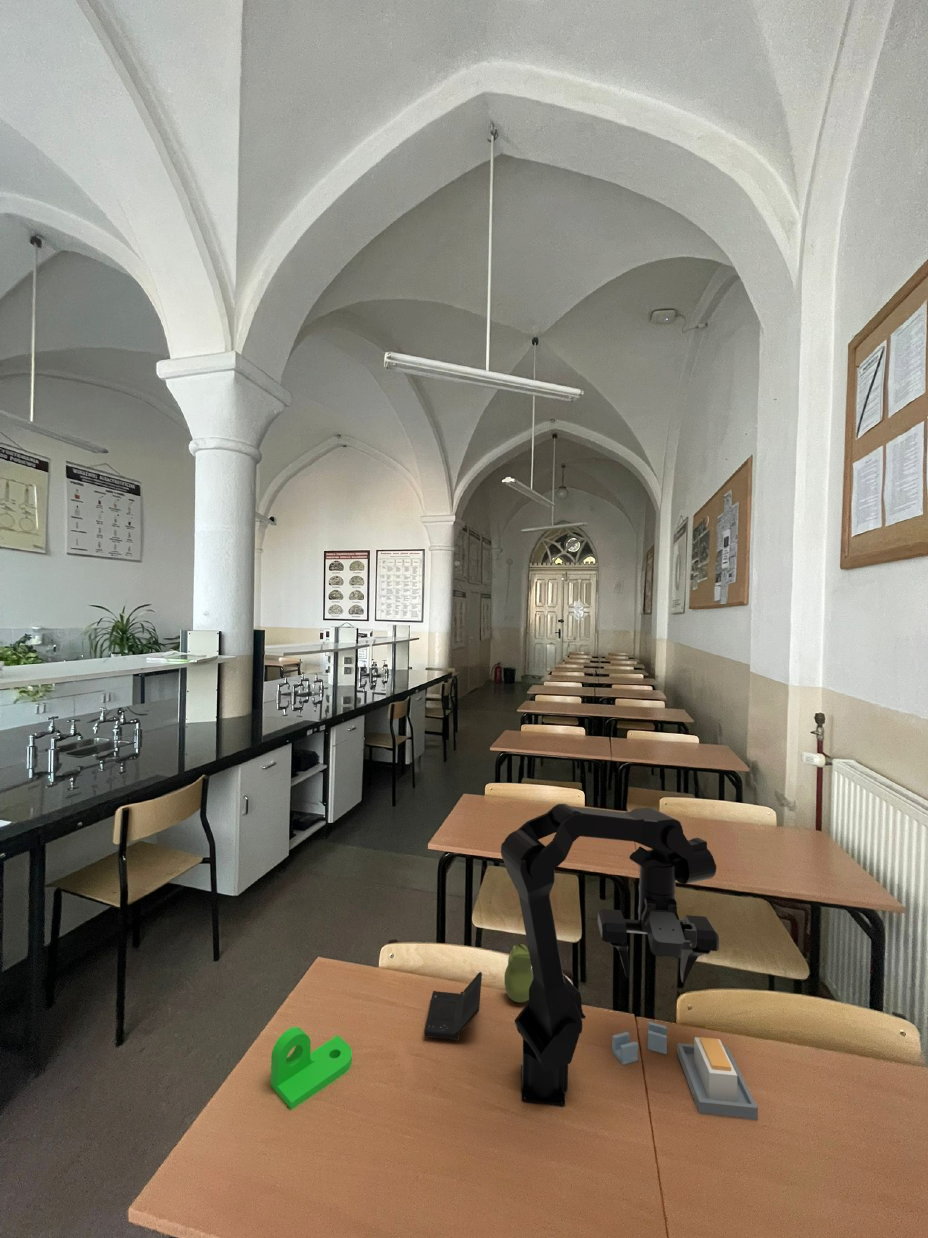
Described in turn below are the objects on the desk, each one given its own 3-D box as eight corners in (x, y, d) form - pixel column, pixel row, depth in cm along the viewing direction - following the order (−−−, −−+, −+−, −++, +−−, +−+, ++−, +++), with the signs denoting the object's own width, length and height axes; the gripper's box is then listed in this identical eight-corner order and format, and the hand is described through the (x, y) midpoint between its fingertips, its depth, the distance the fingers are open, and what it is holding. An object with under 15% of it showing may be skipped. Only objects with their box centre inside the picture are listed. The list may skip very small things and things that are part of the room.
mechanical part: (291, 1117, 79) (292, 1061, 79) (270, 1091, 83) (271, 1039, 83) (359, 1067, 87) (360, 1018, 87) (337, 1047, 91) (338, 999, 91)
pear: (529, 988, 107) (530, 937, 107) (536, 1008, 101) (538, 954, 101) (501, 990, 106) (502, 939, 106) (507, 1010, 101) (508, 956, 101)
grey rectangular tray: (699, 1114, 80) (699, 1102, 80) (677, 1053, 91) (677, 1043, 91) (757, 1120, 80) (757, 1108, 80) (727, 1058, 91) (728, 1048, 91)
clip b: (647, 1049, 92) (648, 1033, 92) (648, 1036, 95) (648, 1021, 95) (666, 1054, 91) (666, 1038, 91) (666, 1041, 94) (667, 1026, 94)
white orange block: (709, 1099, 82) (709, 1069, 82) (693, 1061, 89) (694, 1033, 89) (736, 1102, 82) (737, 1071, 82) (719, 1064, 89) (719, 1036, 89)
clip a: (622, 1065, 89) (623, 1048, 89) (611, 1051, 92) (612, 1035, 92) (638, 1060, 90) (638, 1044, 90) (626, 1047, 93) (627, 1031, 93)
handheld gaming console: (421, 987, 103) (456, 948, 103) (450, 1008, 104) (485, 970, 104) (421, 1040, 92) (459, 997, 91) (453, 1064, 93) (491, 1021, 92)
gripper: (608, 908, 85) (606, 1007, 85) (733, 917, 83) (730, 1019, 83) (598, 874, 96) (596, 963, 96) (708, 882, 94) (705, 972, 94)
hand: (654, 979), depth 92 cm, fingers open, 9 cm apart
